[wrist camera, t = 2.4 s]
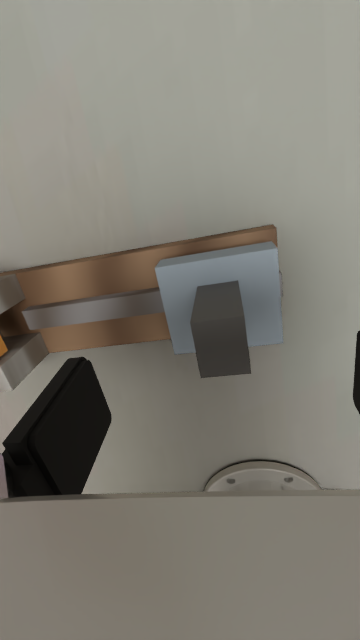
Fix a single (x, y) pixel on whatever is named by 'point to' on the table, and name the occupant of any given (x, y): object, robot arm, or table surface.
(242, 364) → the carriage
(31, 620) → the robot arm
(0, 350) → the button
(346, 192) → the table surface
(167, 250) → the rail board
